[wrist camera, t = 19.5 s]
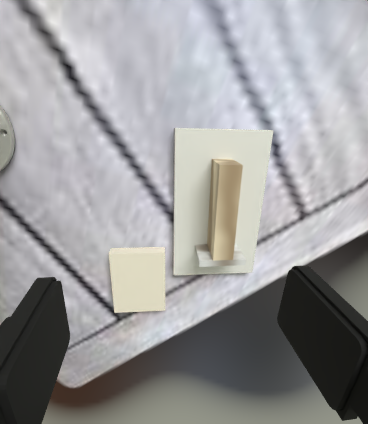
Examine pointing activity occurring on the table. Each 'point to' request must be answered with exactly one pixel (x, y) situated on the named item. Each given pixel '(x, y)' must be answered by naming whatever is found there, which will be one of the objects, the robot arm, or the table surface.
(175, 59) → the table surface
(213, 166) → the beige upright post
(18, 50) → the table surface
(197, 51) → the table surface
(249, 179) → the white rectangular board
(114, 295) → the tile
